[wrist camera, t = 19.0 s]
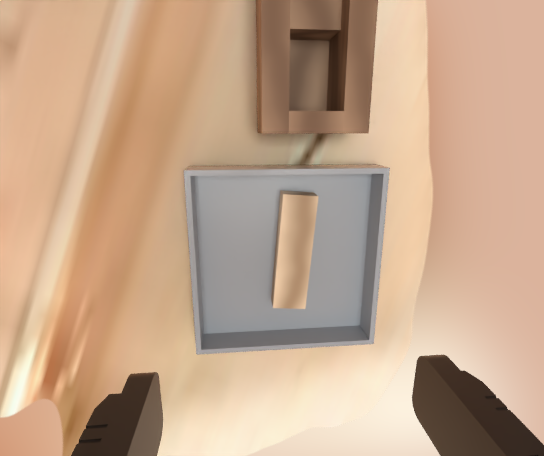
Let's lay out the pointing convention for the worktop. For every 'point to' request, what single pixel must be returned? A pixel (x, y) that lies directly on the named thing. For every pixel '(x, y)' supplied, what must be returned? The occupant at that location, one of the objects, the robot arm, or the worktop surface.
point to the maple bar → (293, 249)
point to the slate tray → (261, 253)
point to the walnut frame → (315, 65)
